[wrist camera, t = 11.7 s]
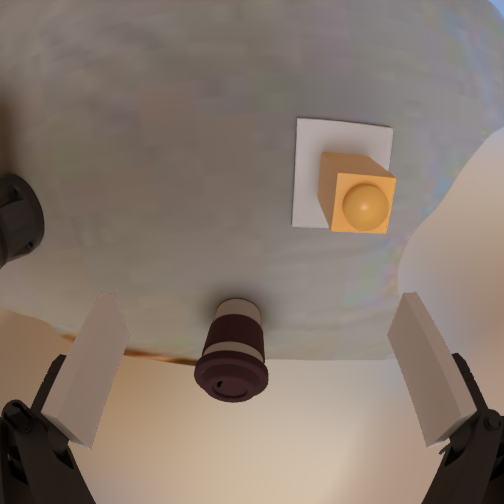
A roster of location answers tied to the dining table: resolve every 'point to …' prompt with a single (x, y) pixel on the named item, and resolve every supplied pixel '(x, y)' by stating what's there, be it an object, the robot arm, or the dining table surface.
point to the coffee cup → (233, 354)
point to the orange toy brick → (355, 193)
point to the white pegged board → (330, 141)
